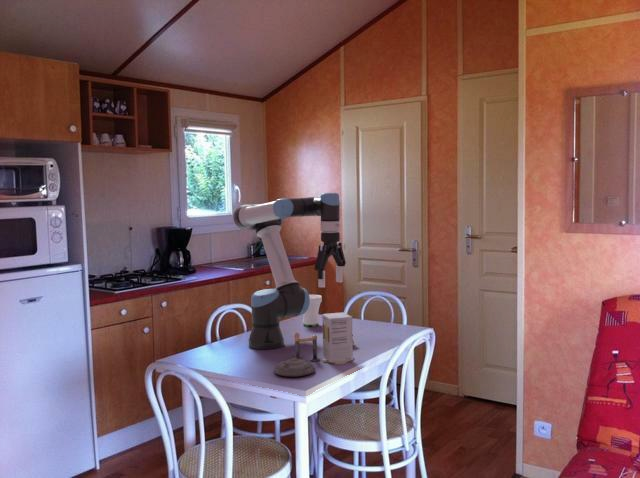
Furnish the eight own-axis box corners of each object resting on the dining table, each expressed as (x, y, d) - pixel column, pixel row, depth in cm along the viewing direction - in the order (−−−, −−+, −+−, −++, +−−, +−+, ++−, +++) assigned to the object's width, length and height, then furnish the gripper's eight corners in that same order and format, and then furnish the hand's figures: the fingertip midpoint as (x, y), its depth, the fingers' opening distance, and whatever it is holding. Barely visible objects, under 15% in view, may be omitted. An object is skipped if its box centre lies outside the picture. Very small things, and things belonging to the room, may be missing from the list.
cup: (326, 324, 299) (326, 295, 298) (314, 328, 290) (313, 299, 289) (307, 321, 305) (306, 293, 304) (295, 326, 296) (294, 297, 295)
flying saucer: (288, 382, 210) (288, 366, 209) (265, 372, 222) (265, 357, 222) (323, 374, 219) (323, 358, 218) (299, 365, 231) (299, 350, 230)
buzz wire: (282, 362, 234) (281, 336, 233) (296, 356, 242) (295, 331, 241) (308, 366, 228) (307, 340, 227) (321, 359, 236) (320, 334, 235)
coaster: (322, 361, 233) (322, 359, 233) (333, 356, 241) (333, 354, 241) (342, 364, 229) (342, 362, 229) (354, 358, 236) (354, 356, 236)
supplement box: (322, 356, 238) (321, 313, 236) (344, 354, 241) (343, 311, 239) (330, 362, 229) (329, 318, 227) (353, 360, 232) (352, 316, 230)
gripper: (321, 234, 230) (322, 290, 232) (353, 229, 251) (354, 280, 253) (305, 233, 234) (305, 288, 236) (338, 229, 255) (338, 279, 257)
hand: (330, 284), depth 245 cm, fingers open, 13 cm apart
